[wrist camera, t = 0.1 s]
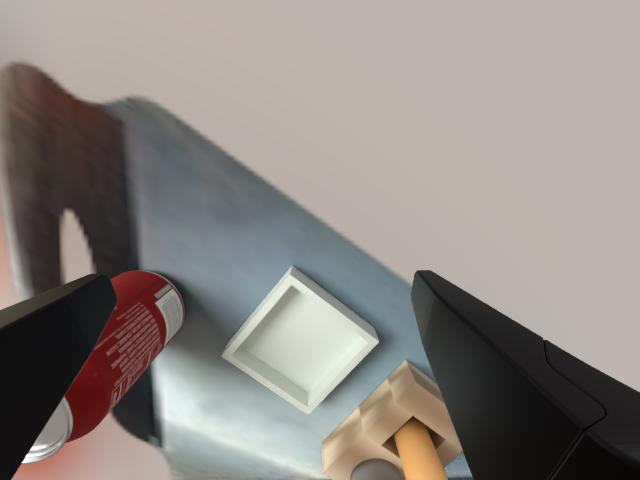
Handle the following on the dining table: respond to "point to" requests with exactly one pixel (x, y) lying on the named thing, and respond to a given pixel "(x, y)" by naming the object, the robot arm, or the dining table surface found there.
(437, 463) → the pin
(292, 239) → the dining table surface
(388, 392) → the block
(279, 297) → the tray
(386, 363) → the dining table surface
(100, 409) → the soda can
